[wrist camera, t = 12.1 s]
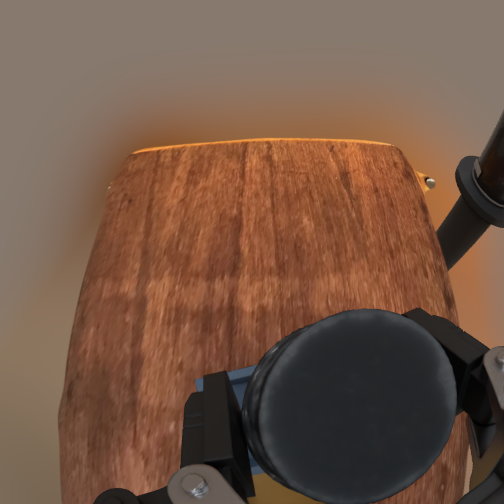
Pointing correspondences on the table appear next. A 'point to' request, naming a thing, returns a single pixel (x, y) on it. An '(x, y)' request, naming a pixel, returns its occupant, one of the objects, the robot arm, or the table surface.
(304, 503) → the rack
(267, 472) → the pill bottle
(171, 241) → the table surface
